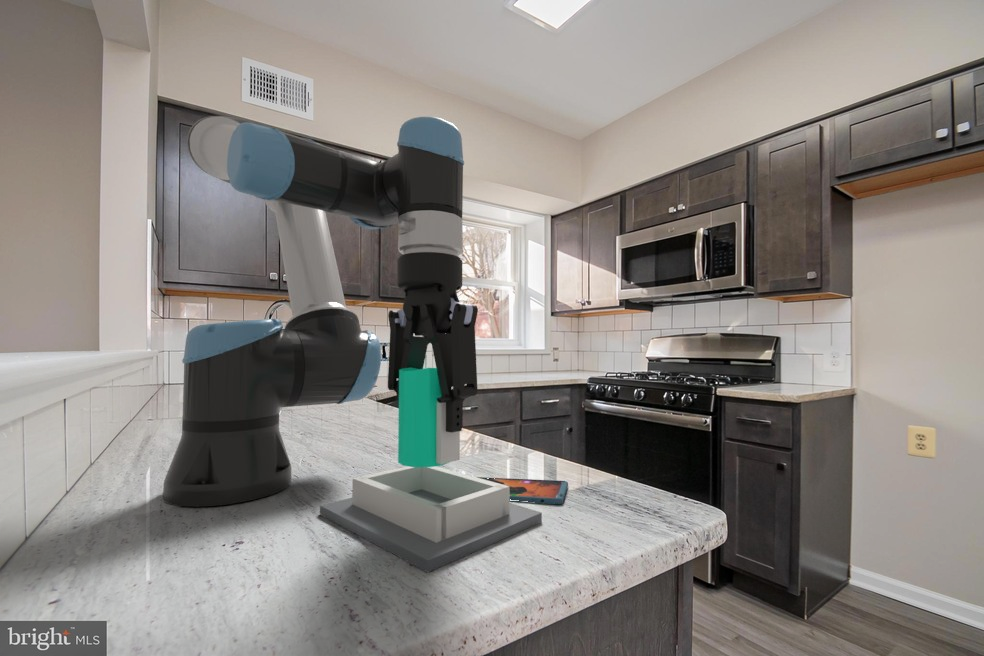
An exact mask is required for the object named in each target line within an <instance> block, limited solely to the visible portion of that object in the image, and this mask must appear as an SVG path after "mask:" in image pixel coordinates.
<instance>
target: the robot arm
mask: <svg viewBox="0 0 984 656" xmlns="http://www.w3.org/2000/svg"><path fill="white" fill-rule="evenodd" d="M398 133H399V134H398V139H397V143H396V145H397V149H398V151H397V153H396V154H395V155H392V157H390V158H388V159H386V160H384V161H383V162H377V161H374V160H371V159H368V158H365V157H362V156H359V155H356V154H353V153H350V152H346V151H343V150H339V149H337V148H333V147H329V146H326V145H324V144H322V143H318V142H316V141H314V140H312V139H310V138H307V137H300V136H298V135H295V134H291V133H288V132H285V131H282V130H280V129H277V128H275V127H274V128H273V127H272V126H271V127H270V126H267V125H263V124H260V123H257V122H254V121H250V120H247V119H244V118H240V117H233V116H225V115H211V116H210V115H209V116H206V117H203V118H200V119H199V120H197V121H196V122H195V123H193V124H192V126H191V127H190V129H189V130H188V134H187V136H186V145H187V151H188V153H189V155H190V158H191V160H192V161H193V162H194V164H195V165H196V166H197V167H198V168H199V169H200V170H202V171H203V172H205V174H207V175H210V176H211V177H213V178H216V179H218V180H221V181H223V182H225V183H228V184H230V185H231V187H232V188H233V189H234V190H235V191H237V192H239V193H242V194H246V195H250V196H254V197H255V198H258V199H261V200H264V203H265V206H266V207H267V208H268V209H269V210H271V211H272V212H274V214H275V218H276V219H275V220H276V225H277V226H276V227H277V233H278V238H279V244H280V250H281V255H282V256H281V257H282V261H283V267H284V275H285V279H286V285H287V291H288V298H289V304H290V310H291V315H292V316H291V318H289V319H288V321H287V322H286V323H285V325H283V323H282V321H281V319H280V318H264V319H252V320H251V319H250V320H240V321H239V320H237V321H229V322H227V321H226V322H217V323H207V324H206V323H205V324H199V325H196V326H194V327H193V328H190V330H189V331H188V332H187V334H186V339H185V344H184V345H185V346H184V353H183V358H182V364H184V365H183V388H182V389H183V390H182V391H183V392H182V393H183V394H182V397H183V398H182V415H181V416H182V418H181V419H182V422H181V425H182V426H181V428H182V429H181V437H180V440H179V442H178V445H177V447H176V450H175V452H174V455H173V457H172V459H171V462H170V465H169V468H168V470H167V473H166V475H165V478H164V480H163V493H162V494H163V495H162V499H163V500H164V501H163V502H165V503H167V504H170V505H174V506H178V507H179V506H180V507H193V508H194V507H198V508H199V507H215V506H223V505H233V504H238V503H239V504H240V503H244V502H248V501H253V500H254V501H255V500H257V499H261V498H265V497H268V496H271V495H273V494H276V493H279V492H282V491H283V490H285V489H286V488H288V487H289V486H290V485H291V484H292V465H291V462H290V458H289V456H288V455H289V454H288V452H287V450H286V449H287V448H286V446H285V443H284V440H283V438H282V434H281V431H280V411H281V408H288V407H290V408H292V407H305V406H318V405H330V404H336V405H340V404H341V405H343V404H344V403H349V402H355V401H360V400H362V399H364V398H366V397H367V396H368V395H369V394H370V393H371V392H372V391H373V389H374V387H375V385H376V383H377V381H378V376H379V374H380V370H381V362H382V349H381V344H380V341H379V339H378V337H377V335H376V334H374V332H372V331H370V330H367V329H366V330H362V329H361V325H360V321H359V316H358V314H357V313H356V312H354V310H352V309H349V308H347V305H346V300H345V295H344V291H343V286H342V282H341V277H340V273H339V272H340V271H339V268H338V263H337V260H336V259H337V258H336V254H335V250H334V246H333V240H332V236H331V232H330V228H329V224H328V218H327V214H326V212H328V213H331V214H335V215H339V216H344V217H348V218H349V219H350V220H351V221H353V222H354V223H355V224H356V225H357V226H359V227H360V228H363V229H366V230H379V229H386V228H390V227H392V226H394V225H396V224H397V225H398V232H397V233H398V237H397V250H398V252H399V253H400V254H401V255H400V256H399V258H397V269H396V271H397V274H396V277H397V278H396V279H397V282H396V283H397V287H398V288H399V289H400V290H403V292H404V293H405V297H404V301H403V304H402V308H400V309H399V310H389V311H388V315H387V317H388V322H389V329H390V330H389V332H390V333H389V346H388V347H389V350H388V351H389V352H388V374H387V388H388V390H389V391H394V392H395V393H396V396H397V397H398V398H399V370H400V369H403V368H411V367H412V368H416V369H424V367H425V355H427V350H428V346H429V344H431V347H432V348H431V349H432V352H433V357H434V358H433V359H434V363H435V368H437V374H438V379H439V384H440V389H441V395H442V397H440V398H437V401H438V402H437V439H436V463H438V464H444V463H447V464H449V463H448V462H450V463H451V462H452V463H453V462H456V461H460V458H461V457H460V451H461V449H460V448H461V447H460V446H461V445H460V444H461V443H460V442H461V441H460V440H461V438H460V437H461V436H460V432H462V429H463V428H464V427H463V426H464V425H463V424H464V421H463V417H464V414H463V413H464V412H463V407H464V406H463V405H464V401H465V400H466V399H467V398H470V397H475V396H476V395H478V371H477V370H478V369H477V367H478V366H477V352H476V351H477V348H476V346H477V345H476V344H477V343H476V323H477V322H476V321H477V316H478V312H479V308H478V306H477V305H476V304H469V303H468V304H467V303H462V302H460V300H459V299H460V298H459V297H458V292H457V291H460V290H461V289H462V287H463V260H462V259H461V257H460V255H462V253H464V248H463V247H464V245H463V243H464V242H463V241H464V239H463V238H464V237H463V229H464V228H463V206H464V205H463V198H464V197H463V195H464V194H463V193H464V191H463V189H464V188H463V187H464V184H463V183H464V165H465V161H464V153H463V138H462V134H461V132H460V130H459V129H458V128H457V127H456V126H455V124H454V123H452V122H450V121H447V120H444V118H440V117H435V116H417V117H413V118H410V119H408V120H406V121H404V123H403V124H402V125H401V127H400V129H399V132H398ZM444 465H445V464H444Z"/></svg>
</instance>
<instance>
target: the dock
mask: <svg viewBox="0 0 984 656" xmlns="http://www.w3.org/2000/svg"><path fill="white" fill-rule="evenodd" d="M477 477H478V476H473V475H469V474H465V473H463V472H459V471H455V470H452V469H448V468H444V467H440V466H434V467H409V466H402V467H398V468H393V469H388V470H384V471H380V472H375V473H370V474H366V475H363V476H359V477H358V476H357V477H353V478H352V489H351V491H352V496H351V497H348V498H344V499H341V500H337V501H332V502H329V503H325V504H322V505H321V504H320V505H319V515H320V516H322V517H324V518H326V519H328V520H330V521H332V522H333V523H336V524H337V525H339V526H341V527H343V528H345V529H346V530H348V531H350V532H352V533H353V534H355V535H358V536H360V537H362V538H363V539H364V540H367V541H369V542H370V543H372V544H375V545H376V546H378V547H379V548H381V549H383V550H385V551H387V552H389V553H391V554H393V555H395V556H396V557H398V558H400V559H403V560H404V561H406V562H407V563H409V564H411V565H414V566H415V567H417V568H419V569H421V570H422V571H424V572H426V573H430V572H432V571H434V570H437V569H438V568H441V567H443V566H445V565H448V564H450V563H452V562H455V561H457V560H459V559H461V558H464V557H466V556H468V555H470V554H473V553H475V552H477V551H480V550H481V549H484V548H486V547H488V546H490V545H493V544H495V543H497V542H500V541H502V540H504V539H506V538H508V537H511V536H513V535H515V534H517V533H519V532H522V531H525V530H526V529H529V528H531V527H534V526H535V525H537V524H540V523H542V521H543V517H542V512H541V511H537V510H535V509H534V510H533V509H532V508H528V507H526V506H525V507H524V506H521V505H519V504H515V503H512V502H511V501H510V486H506V485H502V484H499V483H495V482H492V481H488V480H484V479H481V478H477Z"/></svg>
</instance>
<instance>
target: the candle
mask: <svg viewBox="0 0 984 656" xmlns="http://www.w3.org/2000/svg"><path fill="white" fill-rule="evenodd" d="M424 367H425V368H423V369H416V368H412V367H411V368H403V369H400V370H399V397H398V437H397V438H398V443H397V446H398V448H397V449H398V450H397V451H398V452H397V454H398V456H397V463H398V464H400V465H401V466H402V467H406V466H409V467H434V466H437V467H440V466H444V465H446V464H449V463H451V462H448V463H444V464H438V463H436V439H437V402H438V401H437V398H440V397H442V395H441V389H440V384H439V379H438V374H437V368H436V367H427V354H426V355H425V361H424Z"/></svg>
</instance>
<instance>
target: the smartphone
mask: <svg viewBox="0 0 984 656" xmlns="http://www.w3.org/2000/svg"><path fill="white" fill-rule="evenodd" d="M476 477H477V478H481V479H484V480H488V481H492V482H495V483H499V484H502V485H506V486H510V499H511V500H519V501H528V502H535V503H534V504H542V503H546V504H545V505H562V504H563V502H564V500H565V496H566V494H567V490H568V487H569V483H568V481H566V480H551V479H532V478H531V479H528V478H526V479H525V478H506V477H505V478H504V477H483V476H482V477H480V476H476ZM487 478H489V479H487ZM494 478H495V479H494ZM528 502H527V503H528Z"/></svg>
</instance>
